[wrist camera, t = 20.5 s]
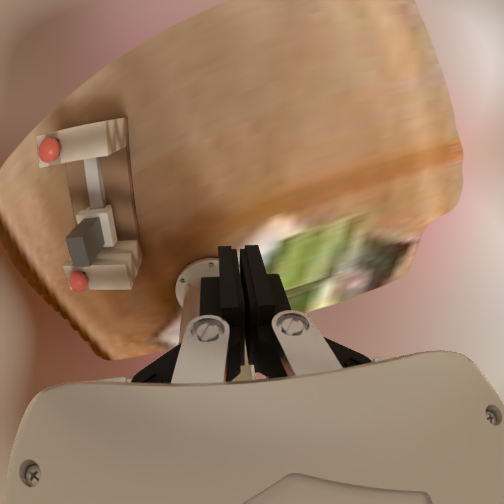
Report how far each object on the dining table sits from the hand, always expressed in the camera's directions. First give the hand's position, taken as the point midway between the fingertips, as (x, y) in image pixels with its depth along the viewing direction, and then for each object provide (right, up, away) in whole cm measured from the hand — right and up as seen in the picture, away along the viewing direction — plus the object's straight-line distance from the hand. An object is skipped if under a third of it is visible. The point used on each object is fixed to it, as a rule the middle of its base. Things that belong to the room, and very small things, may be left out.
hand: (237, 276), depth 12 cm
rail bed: (-21, +9, +25) cm, 35 cm away
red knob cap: (-23, -2, +23) cm, 33 cm away
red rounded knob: (-23, +14, +15) cm, 31 cm away
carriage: (-21, +5, +25) cm, 33 cm away
